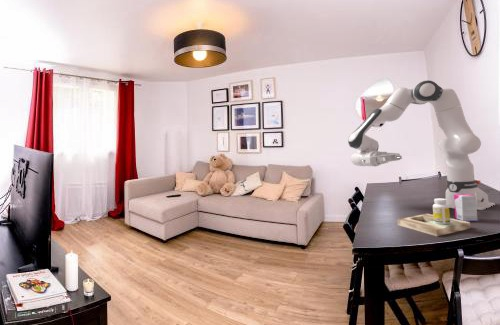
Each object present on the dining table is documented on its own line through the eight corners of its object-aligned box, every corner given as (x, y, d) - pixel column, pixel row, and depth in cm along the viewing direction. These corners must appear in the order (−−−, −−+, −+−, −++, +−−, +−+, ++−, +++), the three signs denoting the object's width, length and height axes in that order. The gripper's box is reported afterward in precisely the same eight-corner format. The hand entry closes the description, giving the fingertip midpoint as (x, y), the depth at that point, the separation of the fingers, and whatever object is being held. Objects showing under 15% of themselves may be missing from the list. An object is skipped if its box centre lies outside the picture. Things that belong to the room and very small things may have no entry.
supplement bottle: (447, 220, 104) (446, 197, 104) (452, 224, 99) (450, 200, 99) (432, 220, 106) (430, 198, 106) (435, 224, 102) (433, 200, 101)
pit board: (427, 218, 118) (427, 212, 118) (470, 228, 101) (469, 221, 101) (397, 225, 113) (397, 218, 113) (437, 236, 96) (436, 229, 96)
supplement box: (478, 221, 108) (476, 195, 108) (462, 222, 109) (460, 196, 109) (469, 218, 114) (467, 193, 113) (454, 218, 115) (452, 194, 115)
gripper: (357, 154, 139) (376, 153, 126) (387, 151, 145) (408, 150, 131) (358, 166, 139) (377, 166, 126) (388, 162, 145) (409, 162, 132)
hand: (393, 158), depth 129 cm, fingers open, 8 cm apart
